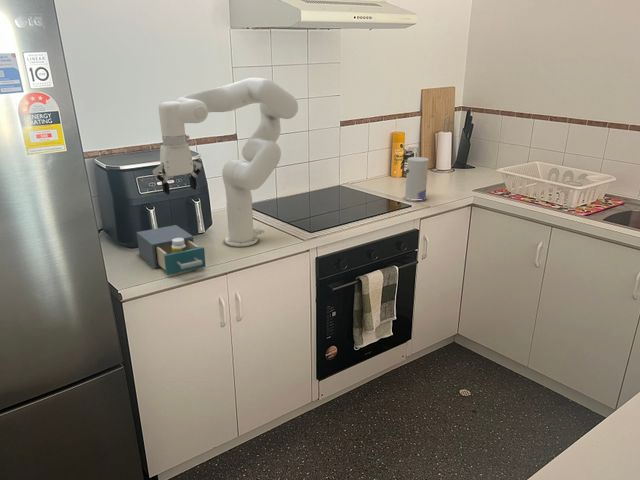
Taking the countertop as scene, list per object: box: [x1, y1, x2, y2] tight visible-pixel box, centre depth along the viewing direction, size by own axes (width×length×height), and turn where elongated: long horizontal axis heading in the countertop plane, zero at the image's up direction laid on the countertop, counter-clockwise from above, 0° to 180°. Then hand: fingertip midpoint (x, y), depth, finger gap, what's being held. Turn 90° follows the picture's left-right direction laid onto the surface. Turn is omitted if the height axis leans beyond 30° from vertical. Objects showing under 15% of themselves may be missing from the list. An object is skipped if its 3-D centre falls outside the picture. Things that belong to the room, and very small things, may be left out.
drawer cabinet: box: [136, 224, 195, 270], centre depth 196 cm, size 16×15×9 cm
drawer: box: [155, 240, 207, 277], centre depth 186 cm, size 20×14×7 cm
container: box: [404, 156, 430, 203], centre depth 268 cm, size 10×10×20 cm
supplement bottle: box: [172, 238, 186, 253], centre depth 186 cm, size 5×5×8 cm
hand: (180, 191), depth 189 cm, fingers open, 9 cm apart
